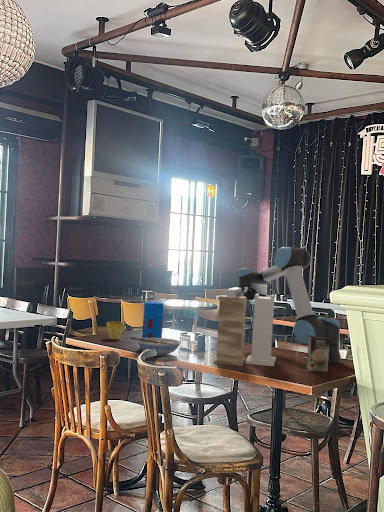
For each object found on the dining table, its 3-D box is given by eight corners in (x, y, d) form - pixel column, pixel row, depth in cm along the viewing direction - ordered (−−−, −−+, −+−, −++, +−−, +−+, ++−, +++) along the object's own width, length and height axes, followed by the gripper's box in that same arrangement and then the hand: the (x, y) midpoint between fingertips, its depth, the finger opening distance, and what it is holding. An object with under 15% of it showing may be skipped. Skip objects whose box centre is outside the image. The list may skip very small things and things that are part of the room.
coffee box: (309, 371, 274) (311, 337, 274) (306, 368, 280) (307, 335, 280) (328, 371, 274) (329, 338, 274) (324, 369, 281) (326, 336, 281)
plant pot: (102, 338, 339) (103, 322, 339) (110, 336, 349) (111, 321, 349) (118, 340, 336) (119, 324, 336) (125, 338, 346) (126, 322, 346)
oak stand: (218, 358, 293) (221, 295, 294) (244, 361, 291) (248, 296, 291) (213, 363, 280) (217, 296, 280) (242, 365, 277) (245, 298, 277)
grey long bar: (233, 294, 302) (234, 287, 302) (241, 295, 302) (241, 287, 302) (226, 297, 275) (227, 289, 275) (234, 298, 274) (235, 289, 274)
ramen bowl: (190, 355, 298) (190, 340, 298) (166, 361, 278) (167, 344, 278) (150, 349, 311) (151, 334, 311) (125, 354, 291) (126, 338, 291)
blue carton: (158, 349, 311) (160, 304, 311) (139, 348, 313) (141, 302, 313) (163, 347, 321) (165, 303, 322) (144, 345, 324) (147, 301, 324)
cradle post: (249, 357, 303) (253, 292, 303) (275, 359, 300) (279, 294, 301) (245, 363, 284) (249, 294, 284) (273, 366, 281) (277, 296, 281)
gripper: (266, 306, 334) (277, 307, 313) (227, 293, 331) (234, 292, 310) (270, 294, 335) (281, 294, 314) (231, 281, 332) (239, 279, 311)
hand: (258, 293), depth 312 cm, fingers open, 13 cm apart
